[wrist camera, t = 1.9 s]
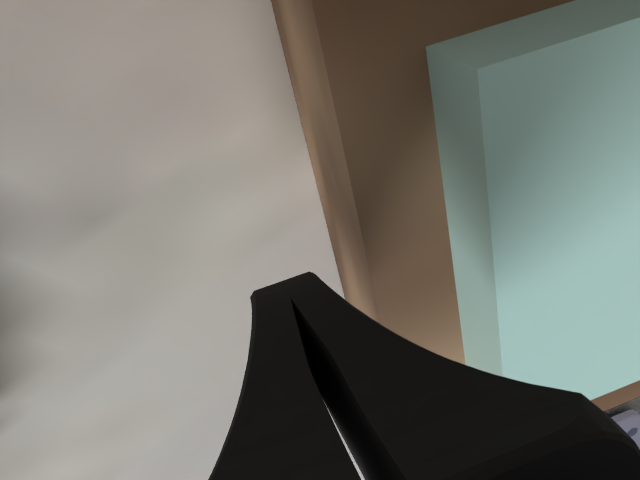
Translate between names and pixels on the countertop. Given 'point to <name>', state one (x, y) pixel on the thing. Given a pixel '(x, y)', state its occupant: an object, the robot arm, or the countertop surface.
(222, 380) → the countertop surface
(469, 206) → the pale teal block
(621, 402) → the deck
